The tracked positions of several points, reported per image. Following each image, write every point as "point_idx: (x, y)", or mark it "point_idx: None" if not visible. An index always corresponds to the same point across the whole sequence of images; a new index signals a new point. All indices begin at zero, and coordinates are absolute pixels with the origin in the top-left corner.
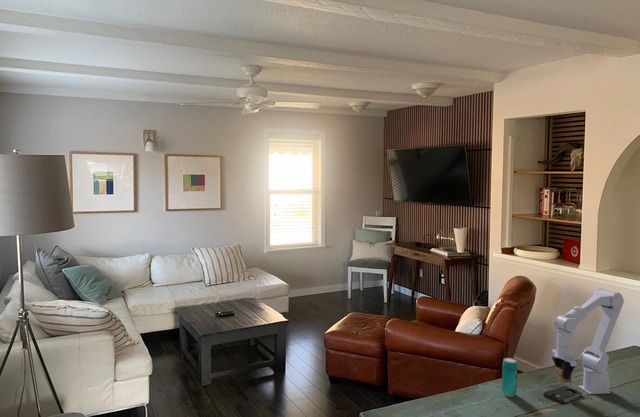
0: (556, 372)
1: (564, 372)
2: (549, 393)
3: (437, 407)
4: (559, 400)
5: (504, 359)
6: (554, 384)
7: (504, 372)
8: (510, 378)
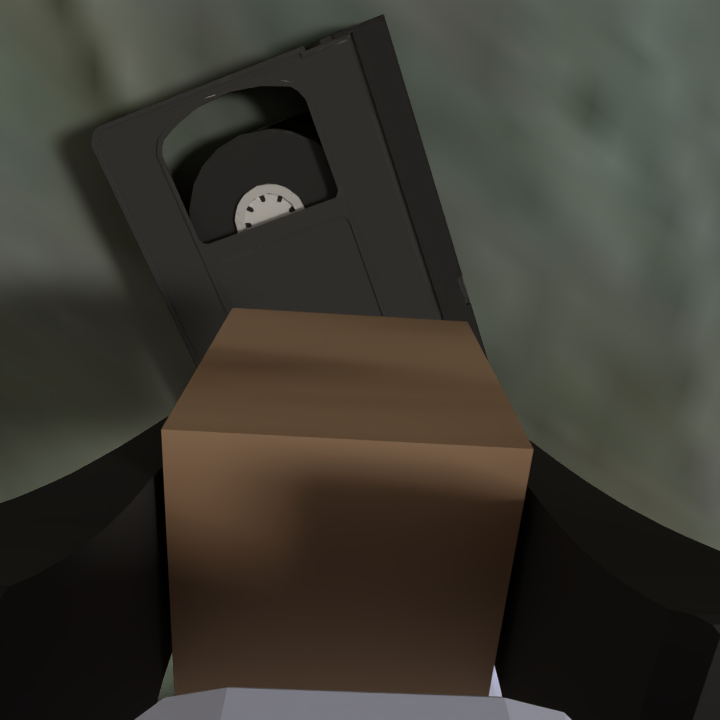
0: (426, 377)
1: (86, 469)
2: (350, 110)
3: None
4: (103, 125)
5: None
6: (687, 427)
7: None
8: None
